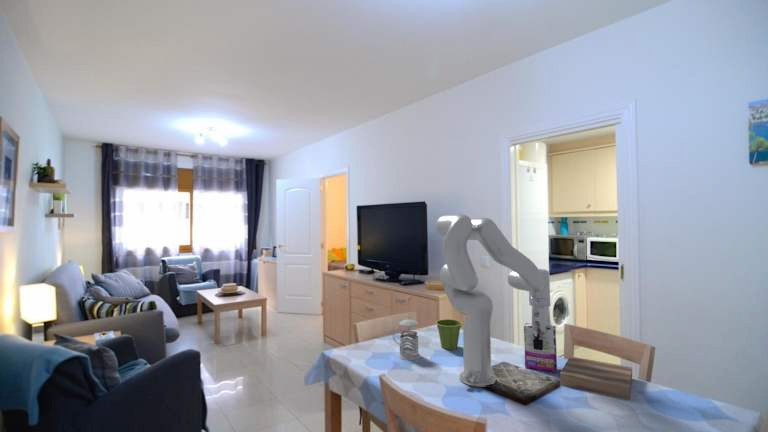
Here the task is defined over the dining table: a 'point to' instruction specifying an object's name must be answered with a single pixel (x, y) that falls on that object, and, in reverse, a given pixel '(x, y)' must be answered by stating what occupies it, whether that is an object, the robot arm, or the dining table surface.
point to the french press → (408, 340)
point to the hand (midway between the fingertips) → (541, 345)
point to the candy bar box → (541, 358)
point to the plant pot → (449, 332)
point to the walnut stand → (597, 377)
